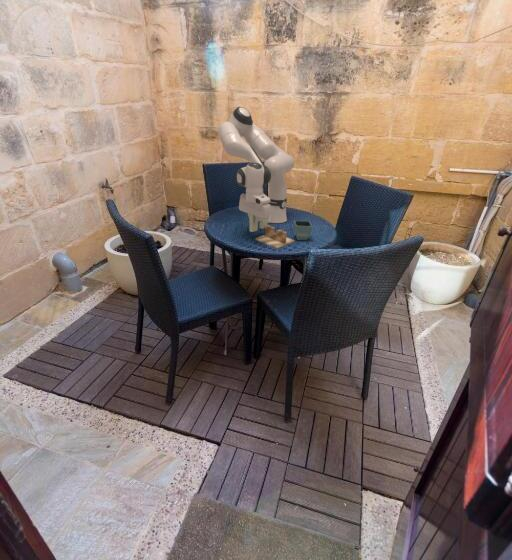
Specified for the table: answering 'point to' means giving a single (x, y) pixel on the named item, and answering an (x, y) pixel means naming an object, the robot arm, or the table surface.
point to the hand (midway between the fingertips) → (253, 222)
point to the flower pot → (302, 229)
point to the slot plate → (255, 226)
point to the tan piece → (275, 237)
